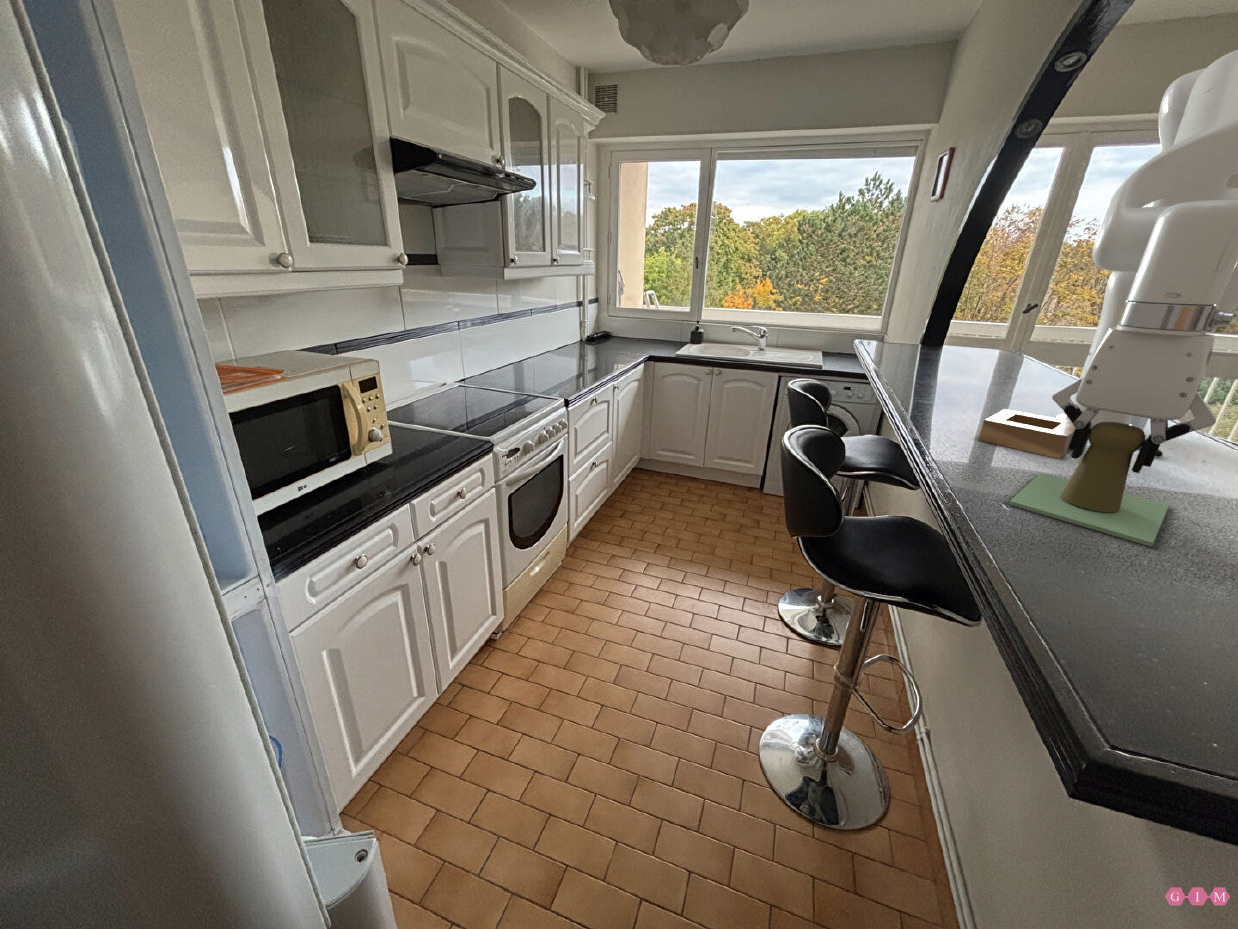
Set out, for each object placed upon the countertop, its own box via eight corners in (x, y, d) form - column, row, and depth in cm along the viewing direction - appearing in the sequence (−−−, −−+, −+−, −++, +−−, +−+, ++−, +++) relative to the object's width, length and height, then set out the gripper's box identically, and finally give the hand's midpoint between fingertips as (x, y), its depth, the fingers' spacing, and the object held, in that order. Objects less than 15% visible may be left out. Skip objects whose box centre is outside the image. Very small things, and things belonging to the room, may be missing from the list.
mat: (1040, 476, 78) (1041, 472, 78) (1167, 508, 68) (1169, 504, 68) (1008, 504, 68) (1009, 500, 68) (1151, 547, 59) (1153, 542, 58)
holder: (998, 428, 101) (1004, 408, 99) (1075, 444, 92) (1083, 423, 91) (978, 440, 94) (984, 419, 92) (1059, 458, 85) (1067, 436, 84)
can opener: (1161, 458, 86) (1164, 452, 85) (1143, 455, 87) (1145, 449, 86) (1146, 444, 93) (1149, 438, 92) (1129, 441, 94) (1132, 435, 94)
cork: (1131, 515, 64) (1168, 432, 61) (1077, 509, 66) (1110, 428, 62) (1099, 496, 70) (1131, 419, 66) (1050, 491, 71) (1079, 415, 67)
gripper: (1277, 324, 55) (1203, 476, 62) (1077, 311, 67) (1033, 440, 74) (1278, 329, 51) (1198, 492, 58) (1063, 314, 63) (1018, 451, 70)
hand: (1106, 461), depth 66 cm, fingers closed on cork, 5 cm apart
